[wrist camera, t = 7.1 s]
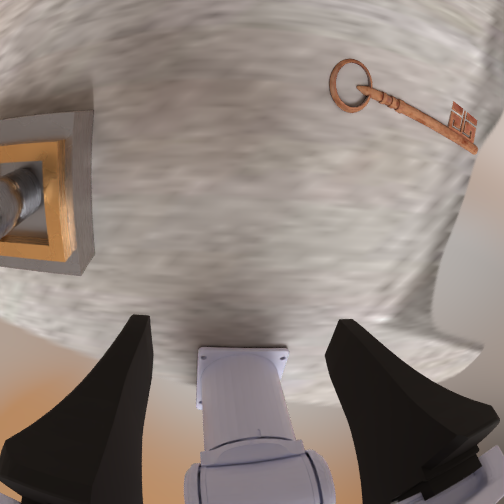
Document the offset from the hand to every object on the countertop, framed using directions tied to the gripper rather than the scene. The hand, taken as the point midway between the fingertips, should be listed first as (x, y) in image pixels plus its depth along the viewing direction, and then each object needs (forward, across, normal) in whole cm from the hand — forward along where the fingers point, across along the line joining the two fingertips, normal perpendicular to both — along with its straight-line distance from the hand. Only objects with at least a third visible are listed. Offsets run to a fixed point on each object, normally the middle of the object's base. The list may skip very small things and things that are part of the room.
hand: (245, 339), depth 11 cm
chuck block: (+10, +13, -2) cm, 17 cm away
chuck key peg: (+7, +13, -3) cm, 15 cm away
